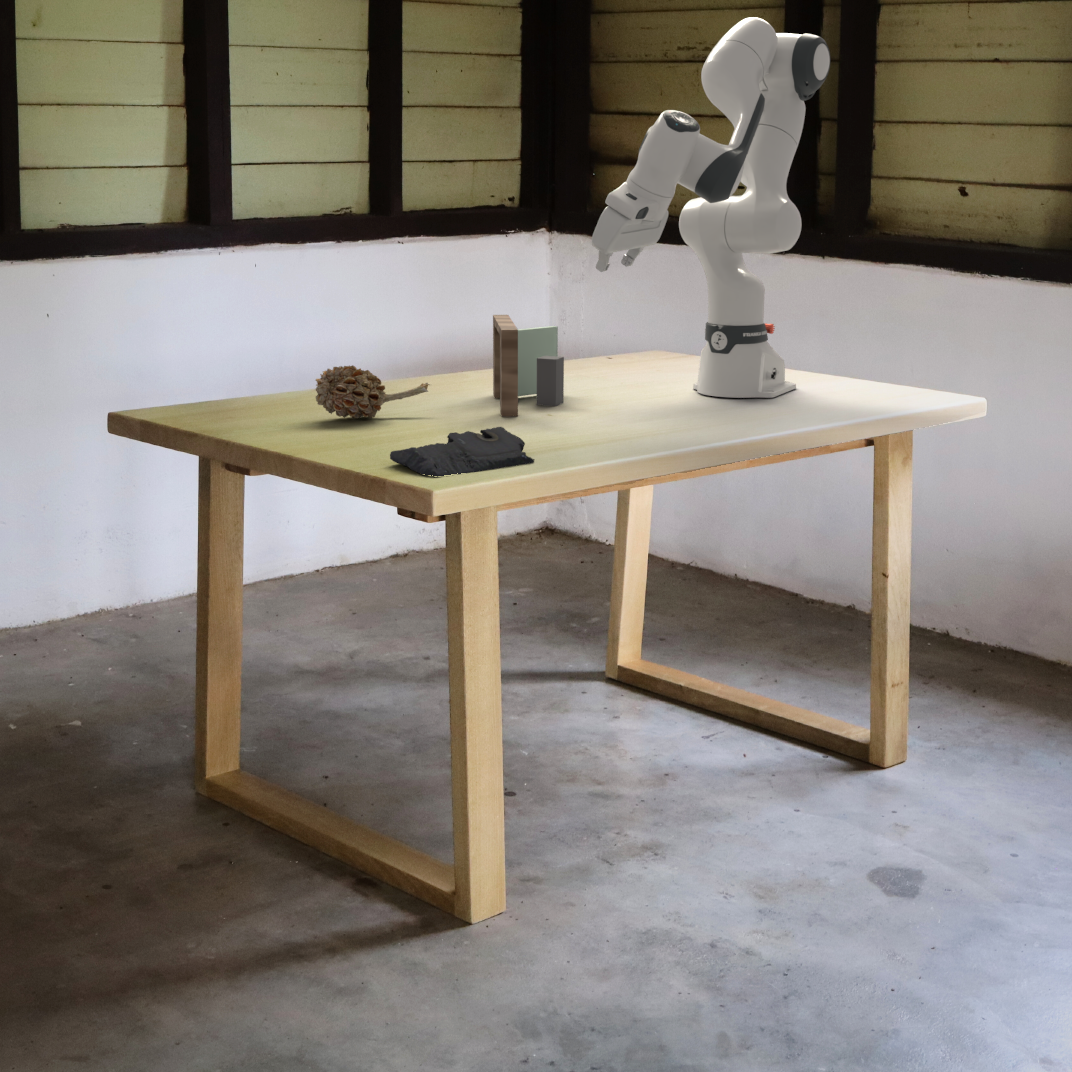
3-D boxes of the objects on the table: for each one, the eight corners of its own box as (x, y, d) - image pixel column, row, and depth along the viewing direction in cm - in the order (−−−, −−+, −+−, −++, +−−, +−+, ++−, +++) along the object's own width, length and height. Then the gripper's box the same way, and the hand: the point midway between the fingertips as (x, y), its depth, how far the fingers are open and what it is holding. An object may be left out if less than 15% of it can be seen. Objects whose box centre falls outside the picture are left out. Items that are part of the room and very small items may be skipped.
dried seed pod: (325, 426, 269) (323, 371, 266) (307, 418, 277) (305, 364, 275) (438, 417, 279) (438, 363, 276) (418, 409, 287) (417, 356, 284)
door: (507, 397, 297) (507, 331, 293) (498, 396, 299) (498, 330, 295) (557, 391, 305) (557, 326, 301) (548, 389, 307) (548, 325, 304)
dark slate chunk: (376, 465, 239) (375, 436, 238) (487, 449, 252) (487, 421, 251) (431, 482, 227) (431, 451, 226) (545, 464, 241) (545, 434, 239)
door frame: (493, 395, 303) (492, 314, 299) (508, 394, 303) (508, 314, 299) (501, 416, 279) (501, 329, 275) (517, 416, 279) (517, 329, 275)
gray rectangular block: (544, 401, 296) (544, 355, 293) (563, 402, 294) (563, 356, 292) (536, 404, 292) (536, 358, 290) (555, 406, 291) (556, 359, 288)
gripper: (657, 188, 281) (627, 253, 287) (603, 194, 264) (572, 264, 271) (684, 205, 279) (653, 270, 285) (631, 212, 262) (599, 282, 269)
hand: (613, 267), depth 278 cm, fingers open, 8 cm apart
